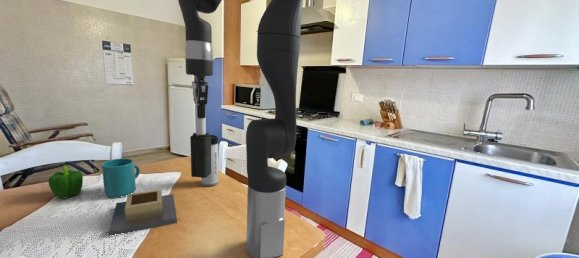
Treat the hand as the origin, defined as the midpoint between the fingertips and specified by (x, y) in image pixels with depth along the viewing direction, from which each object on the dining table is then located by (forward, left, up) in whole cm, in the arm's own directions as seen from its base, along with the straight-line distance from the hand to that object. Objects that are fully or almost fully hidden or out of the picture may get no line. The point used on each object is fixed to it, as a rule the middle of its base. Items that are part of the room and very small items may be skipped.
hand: (200, 116), depth 74 cm
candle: (0, 0, -19) cm, 19 cm away
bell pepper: (+24, +39, -30) cm, 55 cm away
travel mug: (+17, -5, -30) cm, 35 cm away
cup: (+21, +23, -30) cm, 43 cm away
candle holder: (+1, +16, -30) cm, 34 cm away
